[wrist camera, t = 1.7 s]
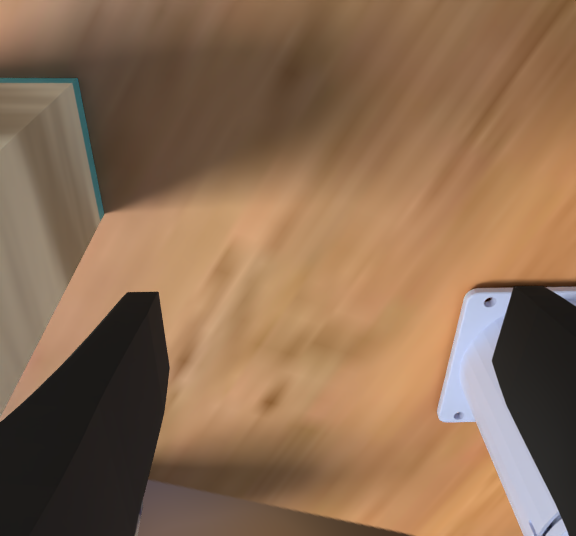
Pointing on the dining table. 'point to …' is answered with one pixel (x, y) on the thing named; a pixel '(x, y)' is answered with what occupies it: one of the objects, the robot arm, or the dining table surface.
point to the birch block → (40, 210)
